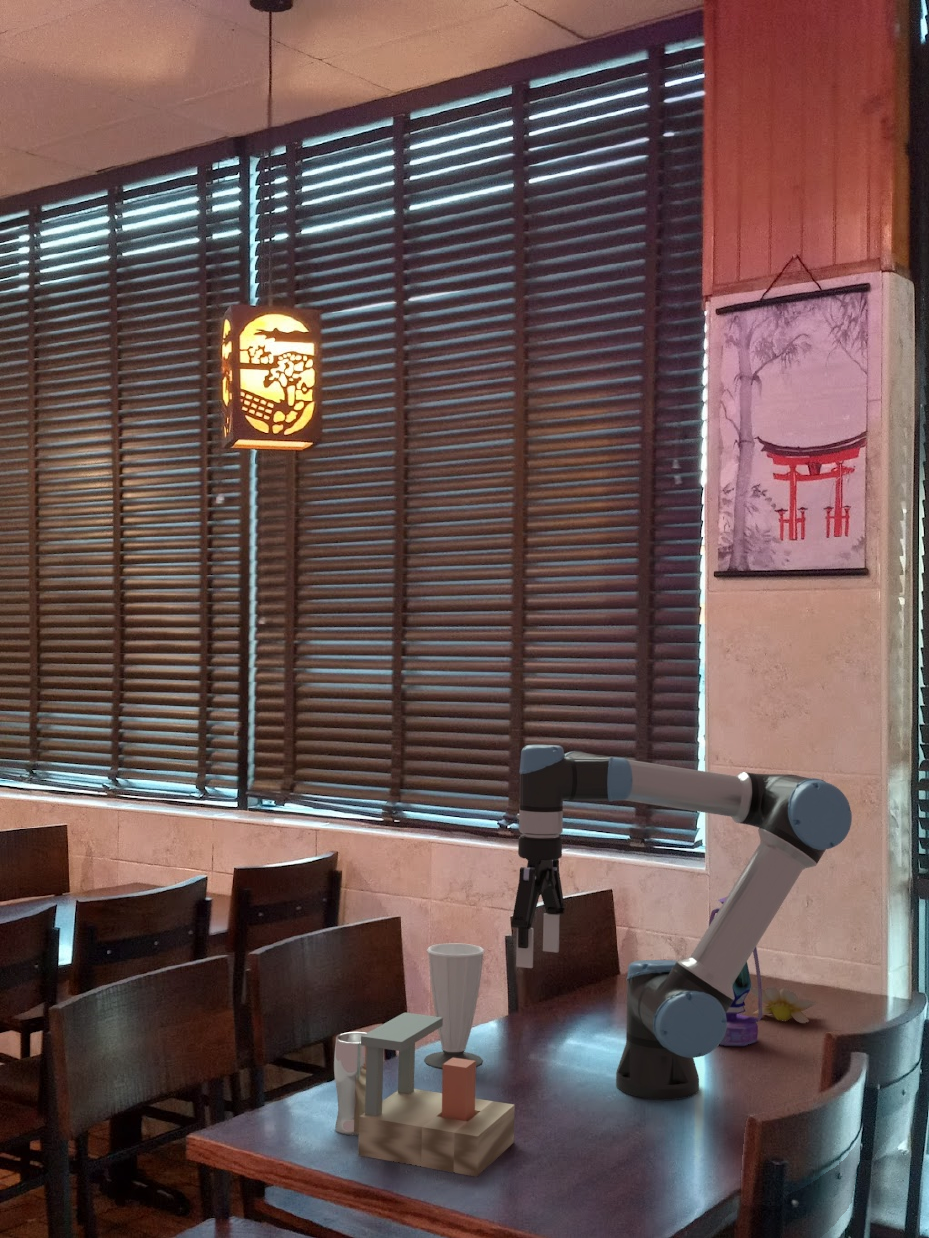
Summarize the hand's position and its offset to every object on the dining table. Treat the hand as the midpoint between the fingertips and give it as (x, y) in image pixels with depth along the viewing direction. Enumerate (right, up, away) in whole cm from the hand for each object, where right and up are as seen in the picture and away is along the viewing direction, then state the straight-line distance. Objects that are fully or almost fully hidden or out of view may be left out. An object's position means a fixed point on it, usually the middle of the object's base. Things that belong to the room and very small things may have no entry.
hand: (538, 959), depth 226 cm
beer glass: (-31, -26, -9) cm, 41 cm away
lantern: (+43, -30, +48) cm, 71 cm away
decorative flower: (+59, -31, +66) cm, 93 cm away
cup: (-15, -28, +30) cm, 43 cm away
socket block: (-17, -26, -17) cm, 35 cm away
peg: (-14, -26, -18) cm, 34 cm away
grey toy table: (-23, -20, -14) cm, 33 cm away
